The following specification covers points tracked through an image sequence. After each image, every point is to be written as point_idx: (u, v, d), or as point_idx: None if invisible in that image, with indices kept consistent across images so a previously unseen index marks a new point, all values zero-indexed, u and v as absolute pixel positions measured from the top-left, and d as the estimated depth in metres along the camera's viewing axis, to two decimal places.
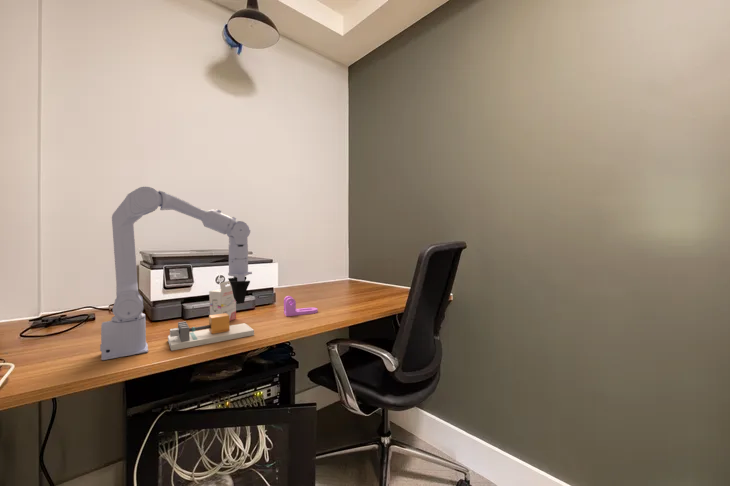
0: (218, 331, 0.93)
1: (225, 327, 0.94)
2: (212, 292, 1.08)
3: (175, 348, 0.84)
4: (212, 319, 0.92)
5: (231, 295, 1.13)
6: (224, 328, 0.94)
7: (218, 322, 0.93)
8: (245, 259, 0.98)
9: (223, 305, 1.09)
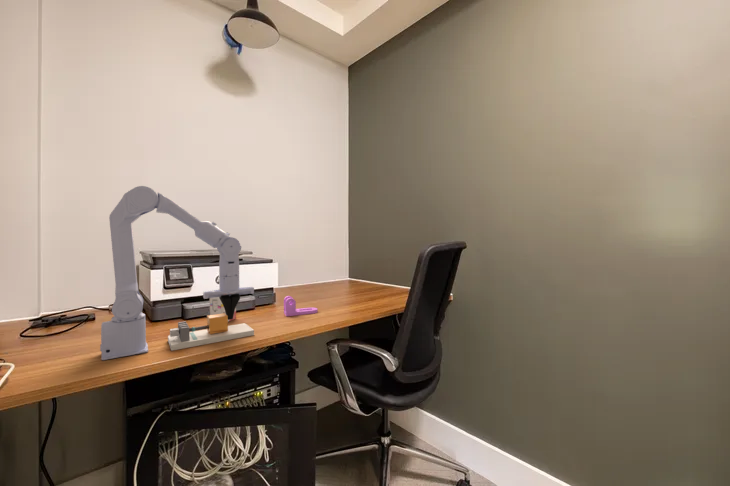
0: (216, 331, 0.93)
1: (223, 327, 0.94)
2: None
3: (175, 348, 0.84)
4: (210, 319, 0.92)
5: None
6: (222, 329, 0.94)
7: (216, 322, 0.93)
8: (223, 277, 0.94)
9: None
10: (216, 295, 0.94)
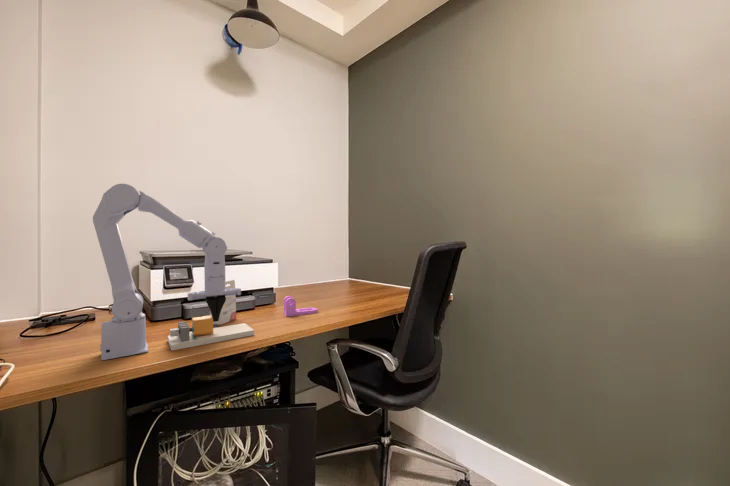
0: (201, 334, 0.90)
1: (208, 330, 0.91)
2: None
3: (175, 348, 0.84)
4: (195, 322, 0.89)
5: (231, 295, 1.13)
6: (207, 331, 0.91)
7: (201, 325, 0.90)
8: (208, 278, 0.91)
9: (223, 305, 1.09)
10: (201, 296, 0.92)
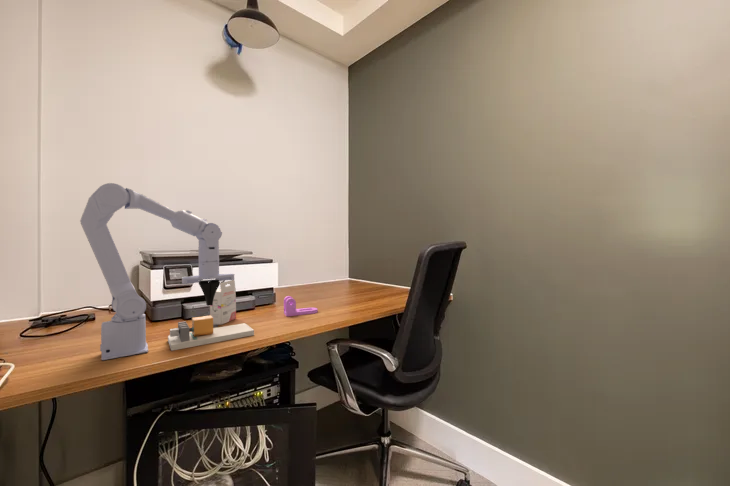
0: (201, 334, 0.90)
1: (208, 330, 0.91)
2: None
3: (175, 348, 0.84)
4: (195, 322, 0.89)
5: (231, 295, 1.13)
6: (207, 331, 0.91)
7: (201, 325, 0.90)
8: (202, 262, 0.94)
9: (223, 305, 1.09)
10: (195, 281, 0.94)
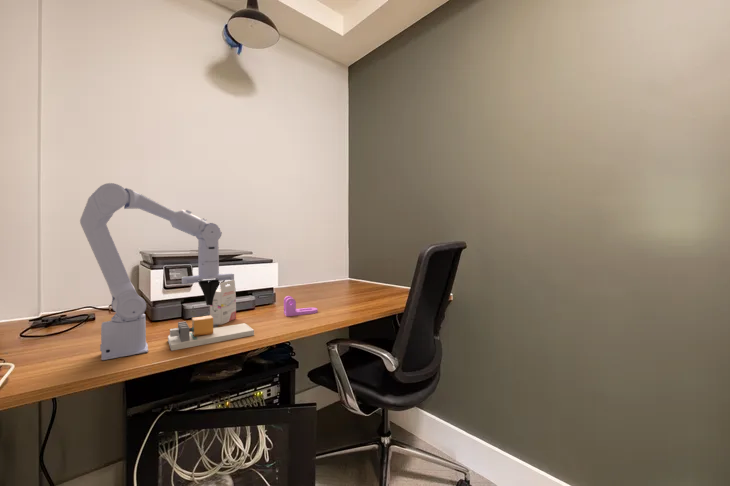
0: (201, 334, 0.90)
1: (208, 330, 0.91)
2: None
3: (175, 348, 0.84)
4: (195, 322, 0.89)
5: (231, 295, 1.13)
6: (207, 331, 0.91)
7: (201, 325, 0.90)
8: (202, 262, 0.94)
9: (223, 305, 1.09)
10: (195, 281, 0.94)
